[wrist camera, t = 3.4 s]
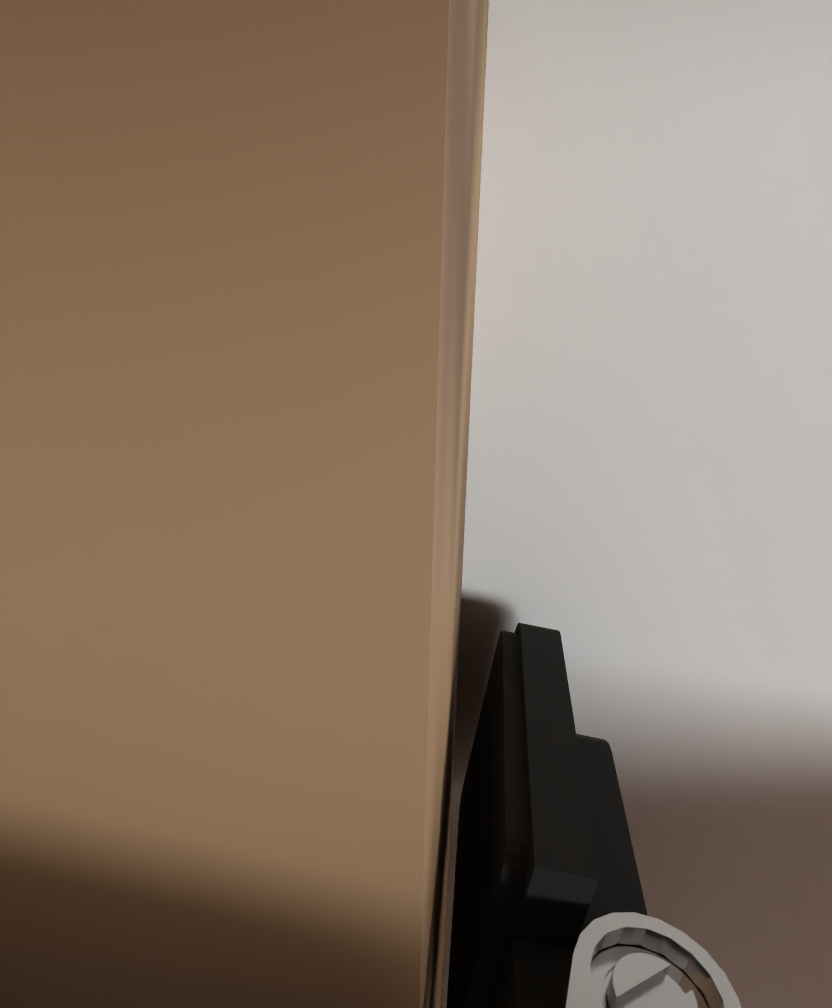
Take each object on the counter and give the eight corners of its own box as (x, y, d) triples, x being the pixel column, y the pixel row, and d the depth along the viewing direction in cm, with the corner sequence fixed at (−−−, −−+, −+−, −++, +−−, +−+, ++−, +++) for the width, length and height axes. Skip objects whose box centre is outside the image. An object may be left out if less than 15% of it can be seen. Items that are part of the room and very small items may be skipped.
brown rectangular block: (167, 12, 8) (-631, -514, 2) (488, 9, 8) (466, -606, 2) (256, 1008, 14) (90, 1548, 8) (441, 1030, 13) (402, 1608, 8)
